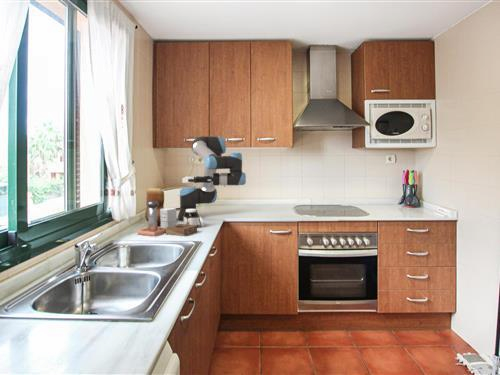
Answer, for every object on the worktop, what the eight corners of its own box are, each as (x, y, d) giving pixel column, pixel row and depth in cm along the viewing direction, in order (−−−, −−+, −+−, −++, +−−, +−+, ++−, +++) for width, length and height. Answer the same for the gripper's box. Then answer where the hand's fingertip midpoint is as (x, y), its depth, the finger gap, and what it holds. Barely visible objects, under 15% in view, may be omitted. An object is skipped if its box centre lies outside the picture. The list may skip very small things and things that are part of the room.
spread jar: (181, 227, 235) (181, 209, 234) (195, 224, 243) (195, 207, 242) (193, 229, 227) (192, 211, 226) (207, 227, 235) (207, 209, 234)
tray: (152, 230, 224) (152, 226, 224) (168, 232, 218) (168, 228, 218) (137, 234, 212) (137, 230, 212) (154, 236, 207) (154, 232, 207)
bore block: (179, 230, 225) (179, 223, 224) (197, 232, 219) (197, 225, 219) (166, 234, 213) (166, 227, 213) (184, 236, 207) (184, 229, 207)
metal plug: (152, 230, 220) (151, 200, 218) (161, 231, 217) (160, 201, 215) (144, 232, 214) (143, 202, 212) (153, 233, 211) (152, 202, 209)
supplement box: (169, 226, 237) (169, 207, 236) (177, 227, 232) (176, 208, 231) (160, 228, 231) (159, 208, 230) (167, 229, 226) (167, 209, 225)
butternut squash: (170, 224, 243) (169, 187, 241) (156, 228, 232) (154, 189, 230) (155, 222, 250) (154, 186, 248) (140, 226, 239) (139, 188, 237)
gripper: (219, 187, 203) (181, 187, 202) (220, 183, 228) (186, 184, 227) (219, 173, 203) (181, 174, 201) (219, 172, 228) (185, 172, 226)
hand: (183, 179), depth 214 cm, fingers open, 13 cm apart
